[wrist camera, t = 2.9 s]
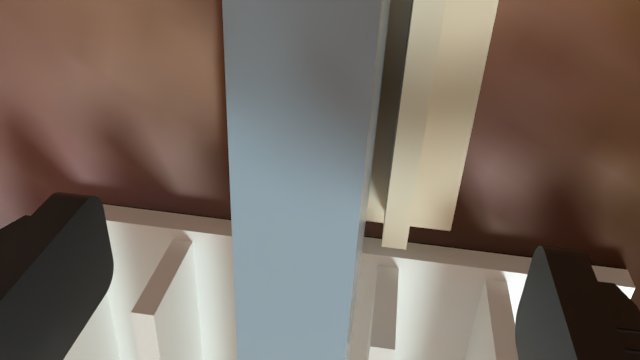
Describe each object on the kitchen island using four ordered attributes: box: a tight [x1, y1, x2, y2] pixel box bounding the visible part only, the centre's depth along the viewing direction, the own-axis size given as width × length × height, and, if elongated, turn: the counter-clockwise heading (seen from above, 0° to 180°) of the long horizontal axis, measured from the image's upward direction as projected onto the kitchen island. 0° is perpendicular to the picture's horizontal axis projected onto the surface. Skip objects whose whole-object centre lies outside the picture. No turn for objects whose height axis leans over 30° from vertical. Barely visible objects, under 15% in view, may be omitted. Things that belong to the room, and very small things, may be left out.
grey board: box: [222, 0, 391, 360], centre depth 14 cm, size 10×2×10 cm, turn 177°
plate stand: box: [366, 0, 499, 250], centre depth 18 cm, size 12×8×3 cm, turn 177°
